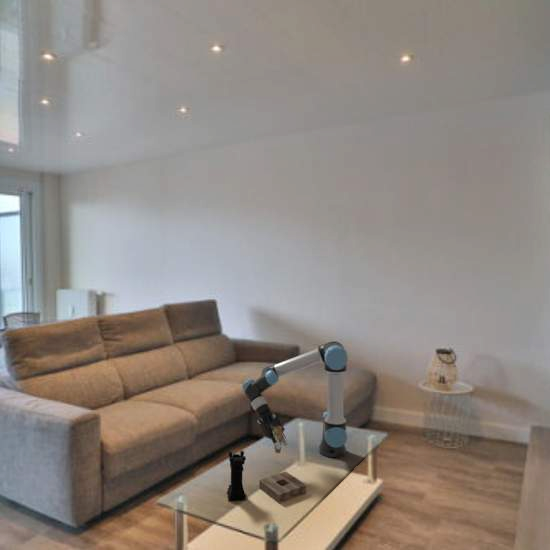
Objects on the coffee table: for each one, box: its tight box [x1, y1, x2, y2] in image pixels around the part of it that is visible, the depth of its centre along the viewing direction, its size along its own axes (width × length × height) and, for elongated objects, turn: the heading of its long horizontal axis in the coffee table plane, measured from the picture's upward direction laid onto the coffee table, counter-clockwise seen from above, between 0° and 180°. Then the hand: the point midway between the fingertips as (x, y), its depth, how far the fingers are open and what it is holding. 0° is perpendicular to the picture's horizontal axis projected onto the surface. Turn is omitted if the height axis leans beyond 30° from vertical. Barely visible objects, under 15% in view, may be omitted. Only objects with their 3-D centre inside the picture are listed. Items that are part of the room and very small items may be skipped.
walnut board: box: [258, 471, 307, 504], centre depth 229 cm, size 16×16×4 cm
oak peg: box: [273, 426, 282, 454], centre depth 246 cm, size 4×4×13 cm
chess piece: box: [226, 450, 247, 502], centre depth 222 cm, size 8×8×20 cm
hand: (283, 446), depth 243 cm, fingers closed on oak peg, 4 cm apart
